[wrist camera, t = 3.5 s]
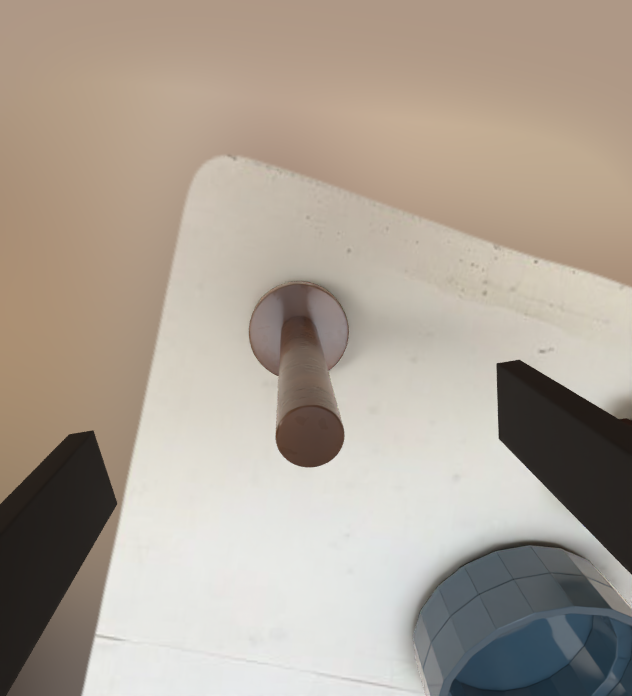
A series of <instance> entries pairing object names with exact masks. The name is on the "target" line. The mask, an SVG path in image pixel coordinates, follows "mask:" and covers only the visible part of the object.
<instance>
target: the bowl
mask: <svg viewBox="0 0 632 696" xmlns="http://www.w3.org/2000/svg"><path fill="white" fill-rule="evenodd" d="M413 642H414V651H415V660H416V664H417V667H418V671H419V674H420V678H421V681H422V684H423V688H424V691H425V695H426V696H632V607H631V606H630V605H629V603H628V602H627V601H626V600H625V599H624V598H623V597H622V596H621V594H620V593H619V592H618V591H617V590H616V589H615V588H614V587H613V585H612V584H611V583H610V582H609V581H608V580H607V579H606V578H605V577H604V576H603V574H602V573H601V572H600V571H599V570H598V569H597V568H596V567H595V566H594V565H593V564H592V563H591V562H590V561H589V560H586V559H584V558H582V557H580V556H577V555H575V554H573V553H570V552H568V551H566V550H564V549H561V548H552V547H542V546H532V545H530V546H529V545H528V546H522V547H516V548H510V549H504V550H498V551H496V552H492V553H490V554H488V555H486V556H483V557H481V558H479V559H477V560H474V561H472V562H470V563H468V564H465V566H462V567H461V568H460V569H459V570H457V571H456V572H455V573H454V574H452V575H451V576H450V577H448V578H447V579H446V580H445V581H443V582H442V583H441V584H440V585H439V586H438V587H437V588H436V589H435V591H434V592H433V594H432V595H431V596H430V598H429V599H428V601H427V602H426V603H425V605H424V606H423V608H422V609H421V611H420V614H419V617H418V621H417V624H416V628H415V631H414V634H413Z"/></svg>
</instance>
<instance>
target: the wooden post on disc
mask: <svg viewBox="0 0 632 696" xmlns="http://www.w3.org/2000/svg"><path fill="white" fill-rule="evenodd" d="M348 336H349V327H348V321H347V317H346V315H345V312H344V310H343V308H342V307H341V305H340V303H339V302H338V300H337V299H336V298H335V297H334V296H333V295H332V294H331V293H330V292H329V291H327V290H326V289H324V288H323V287H321V286H319V285H316V284H313V283H310V282H304V281H294V282H288V283H284V284H281V285H278V286H276V287H275V288H273V289H271V290H270V291H268V292H267V293H266V294H265V295H264V296H263V297H262V298H261V299H260V301H259V302H258V304H257V305H256V307H255V309H254V311H253V314H252V317H251V320H250V325H249V339H250V344H251V348H252V350H253V352H254V354H255V356H256V358H257V359H258V361H259V362H260V363H261V364H262V365H263V366H264V367H265V368H266V369H267V370H269V371H270V372H271V373H273V374H275V375H277V376H279V379H278V399H277V418H276V444H277V447H278V449H279V451H280V453H281V454H282V455H283V456H284V457H285V458H286V459H287V460H288V461H289V462H291V463H293V464H295V465H298V466H301V467H317V466H321V465H323V464H326V463H328V462H329V461H331V460H332V459H333V458H334V457H335V456H336V455H337V454H338V453H339V451H340V449H341V448H342V445H343V442H344V428H343V424H342V420H341V417H340V413H339V409H338V405H337V402H336V398H335V394H334V391H333V387H332V383H331V379H330V376H329V372H328V371H329V370H330V369H331V368H332V367H334V366H335V365H336V363H337V362H338V361H339V360H340V358H341V357H342V355H343V353H344V351H345V349H346V346H347V342H348Z"/></svg>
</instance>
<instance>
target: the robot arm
mask: <svg viewBox="0 0 632 696" xmlns="http://www.w3.org/2000/svg"><path fill="white" fill-rule="evenodd" d="M497 395H498V428H499V439H500V440H501V441H502V442H503V443H504V444H505V445H506V447H507V448H508V449H509V450H510V451H511V452H512V453H513V454H514V455H515V456H516V457H517V458H518V459H519V460H520V461H521V462H522V463H523V464H524V465H525V466H526V467H527V468H528V469H529V470H530V471H531V472H532V473H533V474H534V475H535V476H536V477H537V478H538V479H539V480H540V481H541V482H542V483H543V484H544V485H545V486H546V487H547V488H548V489H549V491H550V492H551V493H552V494H553V495H554V496H555V497H556V498H557V499H558V500H559V501H560V502H561V503H562V504H563V505H564V506H565V507H566V508H567V509H568V510H569V511H570V512H571V513H572V514H573V515H574V516H575V517H576V518H577V519H578V520H579V521H580V522H581V523H582V524H583V525H584V526H585V527H586V528H587V529H588V530H589V531H590V532H591V533H592V535H593V536H594V537H595V538H596V539H597V540H598V541H599V542H600V543H601V544H602V545H603V546H604V547H605V548H606V549H607V550H608V551H609V552H610V553H611V554H612V555H613V556H614V557H615V558H616V559H617V560H618V561H619V562H620V563H621V564H622V565H623V566H624V567H625V568H626V569H627V570H628V571H629V572H630V573H631V574H632V420H629V419H620V420H619V419H617V418H616V417H614V416H612V415H611V414H609V413H607V412H606V411H604V410H602V409H601V408H599V407H597V406H596V405H594V404H592V403H591V402H589V401H587V400H586V399H584V398H582V397H581V396H579V395H577V394H576V393H574V392H572V391H571V390H569V389H567V388H566V387H564V386H562V385H561V384H559V383H557V382H556V381H554V380H552V379H551V378H549V377H547V376H546V375H544V374H542V373H541V372H539V371H537V370H536V369H534V368H532V367H531V366H529V365H527V364H526V363H524V362H522V361H521V360H515V361H509V362H503V363H497ZM116 505H117V501H116V498H115V495H114V492H113V489H112V486H111V483H110V480H109V477H108V474H107V471H106V468H105V465H104V461H103V458H102V456H101V452H100V449H99V446H98V443H97V440H96V437H95V434H94V431H87V432H81V433H75V434H70V435H68V436H67V437H66V438H65V439H64V440H63V441H62V442H61V443H60V444H59V445H58V446H57V447H56V448H55V449H54V450H53V451H52V452H51V453H50V454H49V456H47V457H46V459H44V461H42V463H40V465H39V466H38V467H37V468H36V469H35V470H34V471H33V472H32V473H31V474H30V475H29V476H28V477H27V478H26V479H25V480H24V481H23V482H22V483H21V484H20V485H19V486H18V487H17V488H16V489H15V490H14V491H13V492H12V493H11V494H10V495H9V496H8V497H7V498H6V499H5V500H4V501H3V502H2V503H1V504H0V696H6V695H7V693H8V691H9V690H10V688H11V686H12V684H13V683H14V681H15V679H16V678H17V676H18V674H19V672H20V671H21V669H22V667H23V666H24V664H25V662H26V660H27V659H28V657H29V655H30V654H31V652H32V650H33V648H34V647H35V645H36V643H37V641H38V640H39V638H40V636H41V635H42V633H43V631H44V629H45V628H46V626H47V624H48V622H49V621H50V619H51V617H52V616H53V614H54V612H55V610H56V609H57V607H58V605H59V603H60V602H61V600H62V598H63V597H64V595H65V593H66V591H67V590H68V588H69V586H70V585H71V583H72V581H73V579H74V578H75V576H76V574H77V572H78V571H79V569H80V567H81V565H82V563H83V562H84V560H85V558H86V557H87V555H88V553H89V552H90V550H91V548H92V547H93V545H94V543H95V541H96V540H97V538H98V536H99V534H100V533H101V531H102V529H103V527H104V526H105V524H106V522H107V520H108V519H109V517H110V516H111V514H112V512H113V510H114V509H115V507H116Z"/></svg>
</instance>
